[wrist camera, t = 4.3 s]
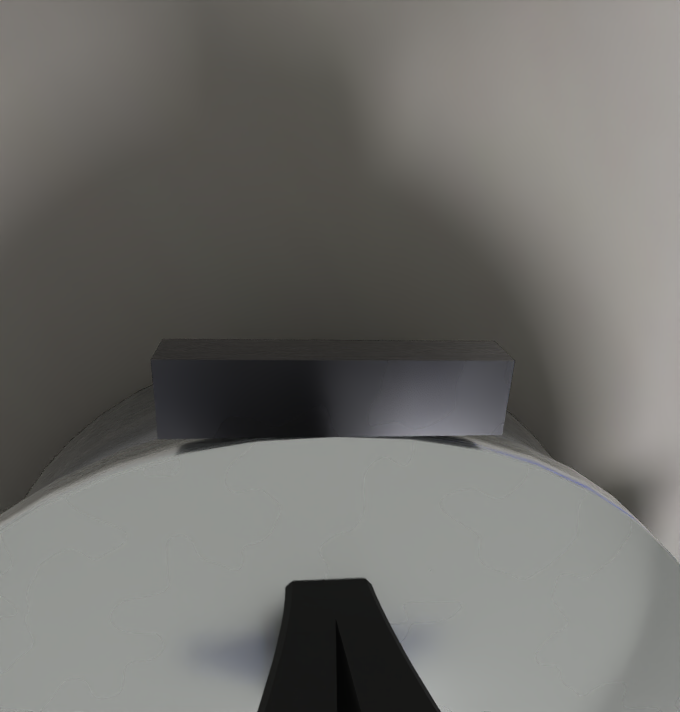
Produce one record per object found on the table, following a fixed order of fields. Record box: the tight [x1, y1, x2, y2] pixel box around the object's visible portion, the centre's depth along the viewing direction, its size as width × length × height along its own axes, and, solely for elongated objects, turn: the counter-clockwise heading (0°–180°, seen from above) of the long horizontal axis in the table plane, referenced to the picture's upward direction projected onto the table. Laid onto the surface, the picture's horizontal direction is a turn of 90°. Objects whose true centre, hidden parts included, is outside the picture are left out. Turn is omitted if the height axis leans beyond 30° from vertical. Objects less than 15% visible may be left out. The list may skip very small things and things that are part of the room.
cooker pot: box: [24, 385, 554, 499], centre depth 14 cm, size 18×20×4 cm
